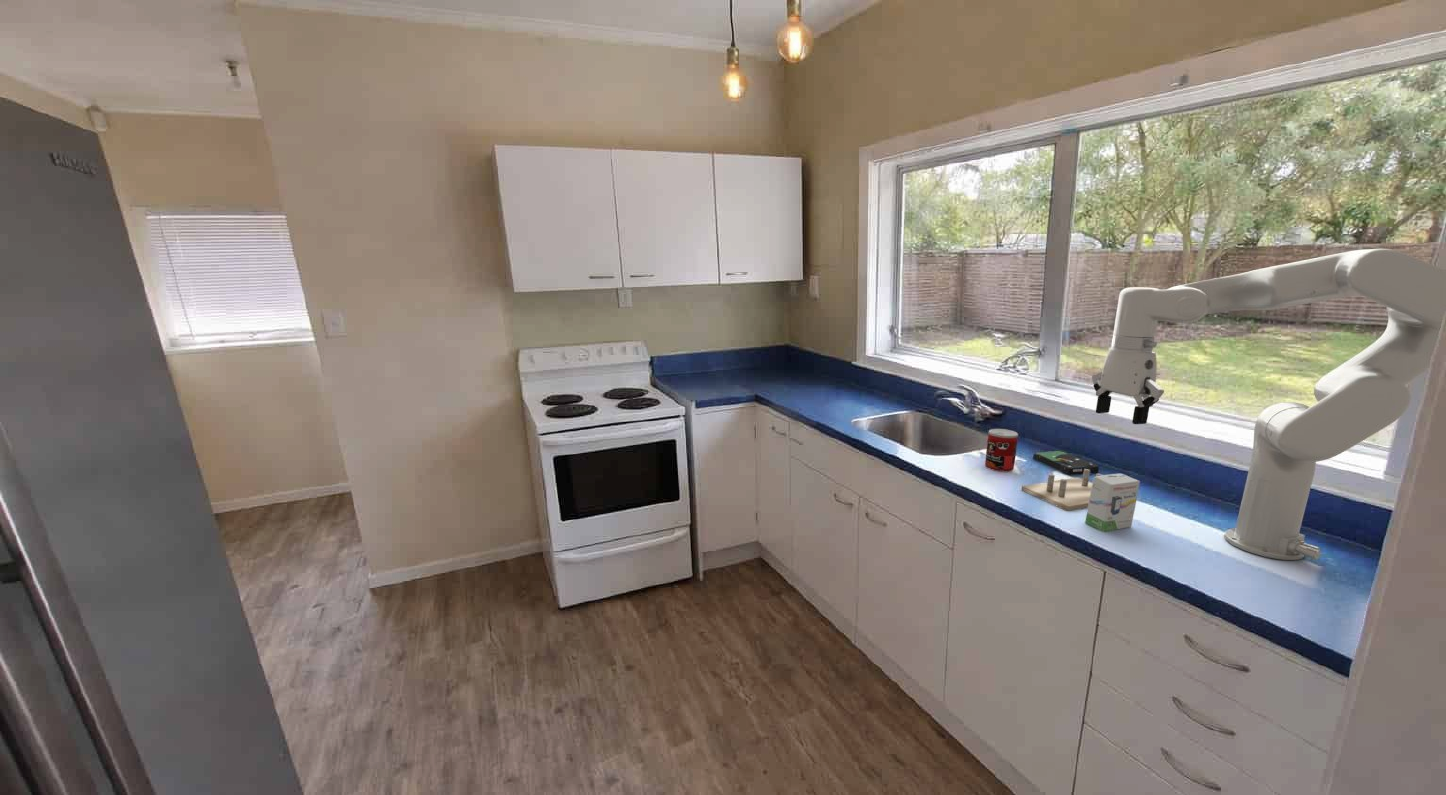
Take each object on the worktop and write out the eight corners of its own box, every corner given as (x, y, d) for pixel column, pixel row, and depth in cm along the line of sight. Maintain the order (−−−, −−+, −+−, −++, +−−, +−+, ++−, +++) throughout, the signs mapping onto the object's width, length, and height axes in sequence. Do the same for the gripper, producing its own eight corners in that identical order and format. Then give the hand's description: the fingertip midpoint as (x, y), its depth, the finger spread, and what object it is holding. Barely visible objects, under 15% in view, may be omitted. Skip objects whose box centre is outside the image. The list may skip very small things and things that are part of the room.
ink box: (1112, 518, 134) (1120, 472, 131) (1132, 528, 129) (1141, 480, 127) (1083, 523, 132) (1091, 475, 129) (1103, 532, 127) (1111, 483, 124)
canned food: (979, 464, 171) (982, 429, 168) (1000, 461, 173) (1004, 427, 171) (998, 473, 164) (1002, 437, 161) (1019, 470, 166) (1024, 434, 164)
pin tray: (1126, 500, 144) (1129, 479, 143) (1067, 511, 138) (1070, 489, 137) (1077, 481, 157) (1080, 462, 156) (1021, 490, 151) (1024, 470, 150)
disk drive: (1098, 475, 164) (1060, 457, 178) (1100, 466, 163) (1061, 449, 178) (1068, 477, 162) (1031, 459, 176) (1069, 468, 161) (1032, 451, 176)
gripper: (1184, 348, 117) (1169, 427, 121) (1113, 338, 134) (1102, 408, 138) (1154, 349, 116) (1140, 429, 120) (1086, 339, 132) (1075, 409, 136)
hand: (1120, 418), depth 129 cm, fingers open, 9 cm apart
